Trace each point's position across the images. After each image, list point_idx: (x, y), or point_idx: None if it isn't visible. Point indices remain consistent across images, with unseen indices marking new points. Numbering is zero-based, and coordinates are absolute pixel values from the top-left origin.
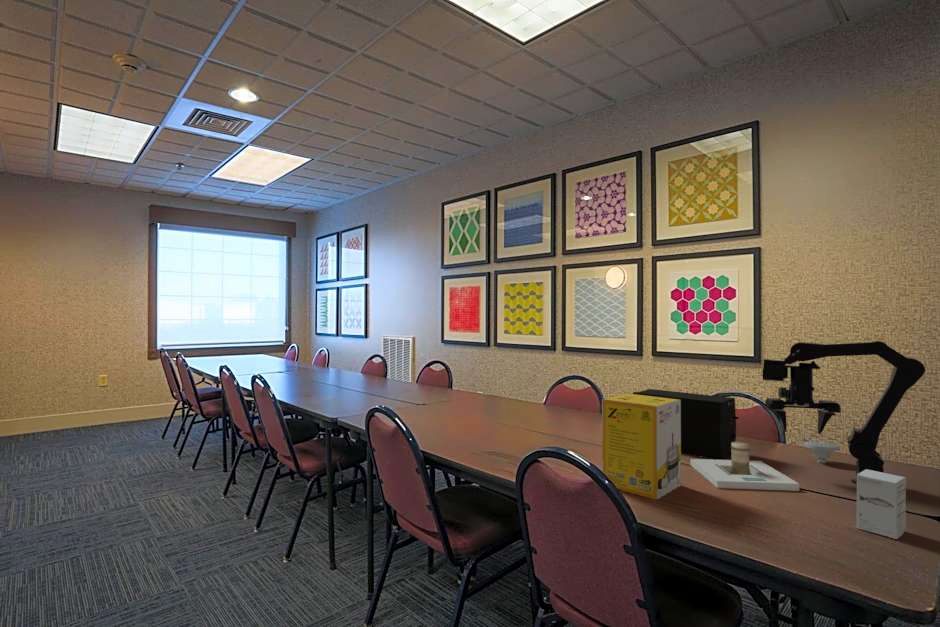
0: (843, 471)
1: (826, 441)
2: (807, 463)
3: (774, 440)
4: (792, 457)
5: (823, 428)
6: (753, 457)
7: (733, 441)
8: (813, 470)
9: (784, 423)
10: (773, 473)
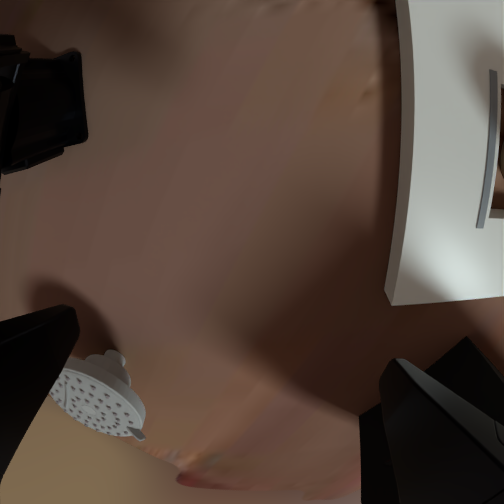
0: (75, 270)
1: (74, 417)
2: (163, 348)
3: (183, 478)
4: (189, 397)
5: (5, 321)
6: (328, 390)
7: (378, 443)
8: (173, 271)
9: (471, 413)
10: (451, 108)
